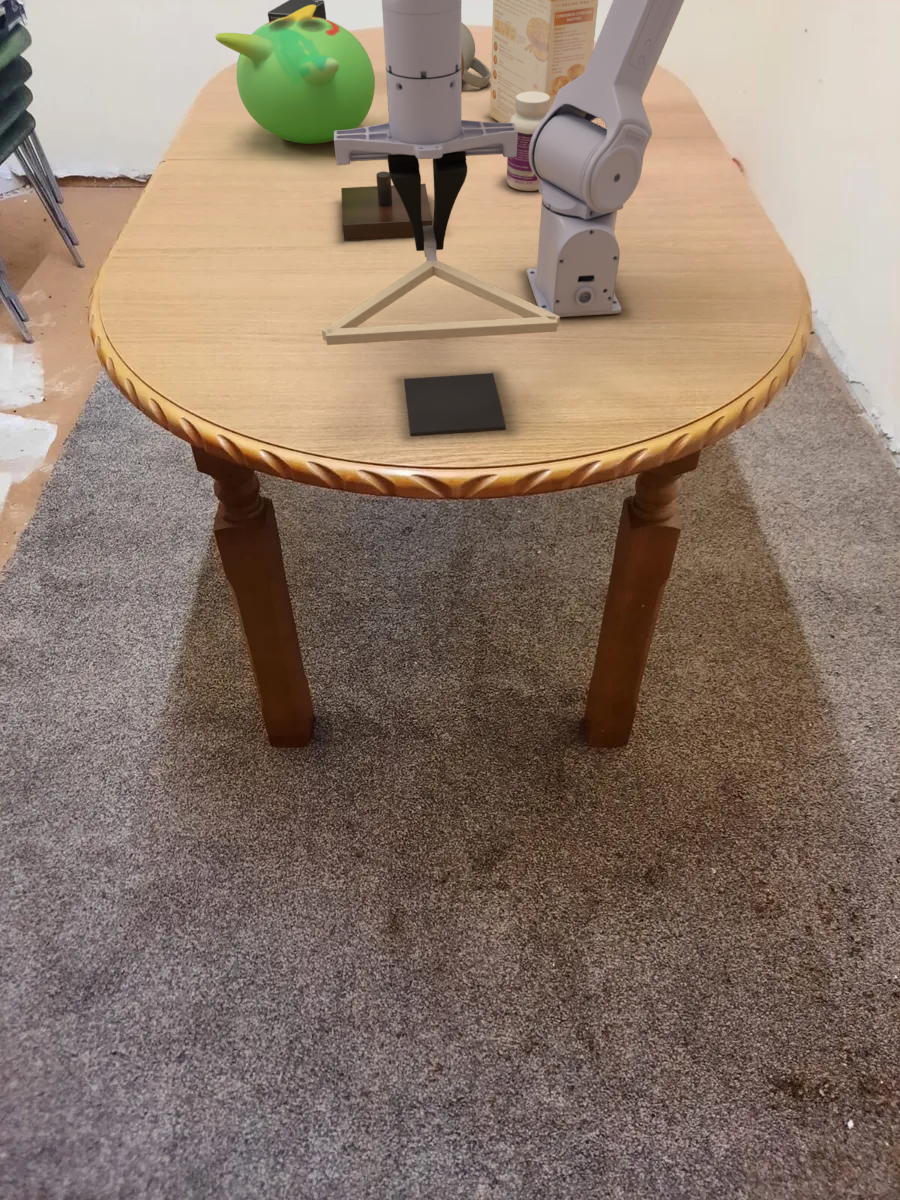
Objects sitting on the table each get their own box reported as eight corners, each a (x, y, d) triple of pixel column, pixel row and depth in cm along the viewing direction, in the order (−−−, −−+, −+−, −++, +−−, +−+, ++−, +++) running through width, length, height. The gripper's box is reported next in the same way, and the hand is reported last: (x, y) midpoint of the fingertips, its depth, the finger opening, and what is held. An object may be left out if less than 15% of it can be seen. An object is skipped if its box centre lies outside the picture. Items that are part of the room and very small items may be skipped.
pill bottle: (546, 193, 100) (553, 105, 93) (503, 190, 101) (506, 102, 94) (551, 176, 104) (558, 90, 96) (510, 173, 104) (513, 87, 97)
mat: (505, 429, 69) (505, 426, 69) (410, 435, 68) (410, 432, 68) (492, 375, 74) (493, 372, 74) (404, 381, 74) (404, 378, 73)
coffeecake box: (585, 143, 111) (604, -37, 96) (539, 152, 109) (552, -30, 94) (531, 108, 120) (541, -61, 105) (487, 116, 118) (492, -55, 103)
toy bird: (393, 124, 116) (386, -2, 105) (352, 170, 106) (339, 35, 95) (275, 113, 120) (257, -10, 109) (224, 156, 109) (198, 25, 98)
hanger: (531, 233, 73) (532, 220, 72) (560, 332, 65) (562, 318, 64) (322, 243, 72) (320, 230, 71) (323, 345, 64) (321, 332, 63)
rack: (432, 236, 93) (431, 190, 89) (344, 240, 92) (339, 194, 89) (425, 199, 100) (424, 154, 96) (342, 203, 99) (338, 159, 95)
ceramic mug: (417, 90, 126) (416, 31, 120) (427, 73, 131) (427, 15, 125) (486, 95, 124) (488, 35, 119) (493, 77, 130) (496, 19, 124)
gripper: (326, 88, 59) (346, 271, 69) (527, 80, 60) (517, 262, 70) (327, 58, 64) (345, 233, 74) (513, 51, 64) (506, 225, 75)
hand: (428, 245), depth 72 cm, fingers closed on hanger, 1 cm apart
